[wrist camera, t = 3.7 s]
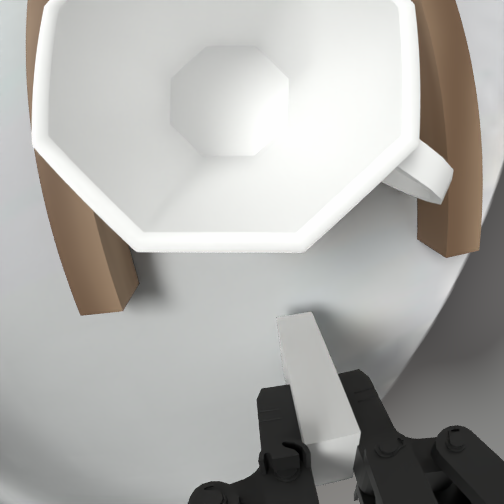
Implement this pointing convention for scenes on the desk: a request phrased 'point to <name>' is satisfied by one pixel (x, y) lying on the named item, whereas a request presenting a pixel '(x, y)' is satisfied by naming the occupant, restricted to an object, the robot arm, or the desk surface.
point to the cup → (231, 116)
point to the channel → (429, 214)
